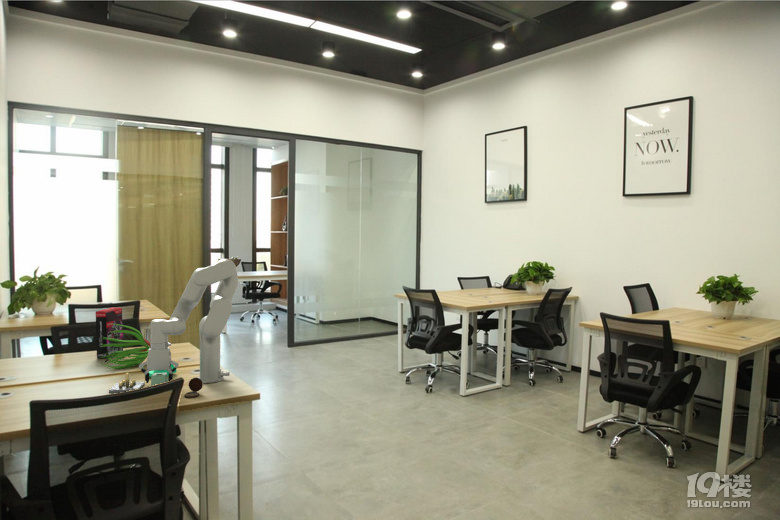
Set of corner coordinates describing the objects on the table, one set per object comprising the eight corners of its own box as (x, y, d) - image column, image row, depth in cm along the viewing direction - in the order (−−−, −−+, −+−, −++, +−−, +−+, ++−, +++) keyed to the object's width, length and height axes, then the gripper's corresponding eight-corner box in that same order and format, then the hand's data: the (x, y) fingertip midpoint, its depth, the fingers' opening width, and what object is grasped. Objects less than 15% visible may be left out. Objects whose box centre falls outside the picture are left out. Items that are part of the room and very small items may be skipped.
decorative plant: (165, 373, 277) (109, 383, 253) (142, 357, 292) (87, 365, 267) (173, 328, 274) (116, 334, 250) (149, 314, 288) (93, 318, 264)
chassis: (144, 383, 239) (144, 369, 238) (138, 391, 227) (138, 375, 227) (116, 385, 236) (116, 370, 236) (108, 392, 224) (108, 377, 224)
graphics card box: (107, 359, 286) (107, 311, 285) (95, 359, 286) (94, 311, 285) (123, 352, 303) (123, 307, 302) (112, 352, 303) (112, 307, 302)
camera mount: (167, 372, 261) (167, 352, 261) (176, 374, 257) (176, 354, 256) (145, 377, 251) (145, 356, 251) (154, 379, 247) (154, 358, 246)
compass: (181, 398, 219) (181, 381, 218) (189, 392, 227) (189, 376, 226) (199, 398, 218) (199, 382, 218) (207, 393, 226) (207, 377, 226)
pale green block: (167, 382, 241) (167, 372, 241) (164, 386, 235) (164, 375, 235) (153, 383, 240) (153, 373, 239) (151, 387, 234) (150, 376, 234)
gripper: (180, 343, 242) (179, 379, 243) (141, 344, 238) (140, 380, 239) (177, 346, 235) (177, 383, 236) (137, 347, 231) (136, 384, 232)
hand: (158, 381), depth 237 cm, fingers open, 9 cm apart
